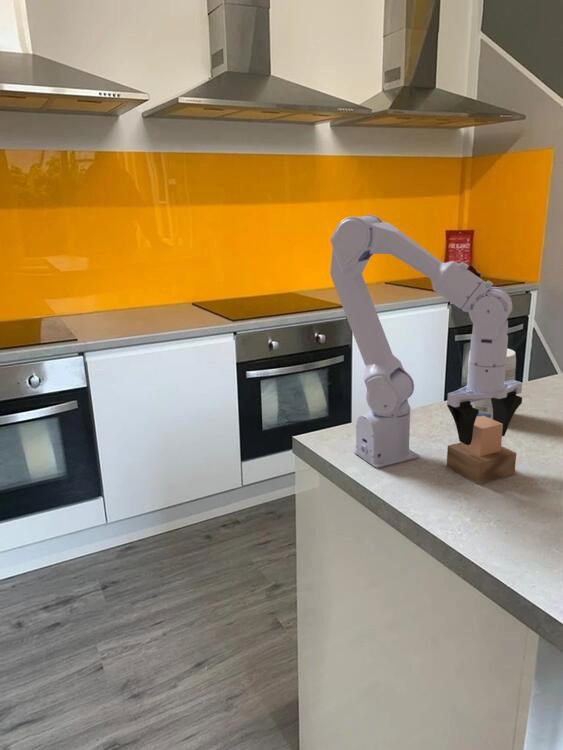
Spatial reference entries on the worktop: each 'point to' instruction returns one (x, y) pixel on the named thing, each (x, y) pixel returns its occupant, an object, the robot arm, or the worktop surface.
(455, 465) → the walnut block
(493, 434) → the orange-tan cube
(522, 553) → the worktop surface
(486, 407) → the supplement tub
